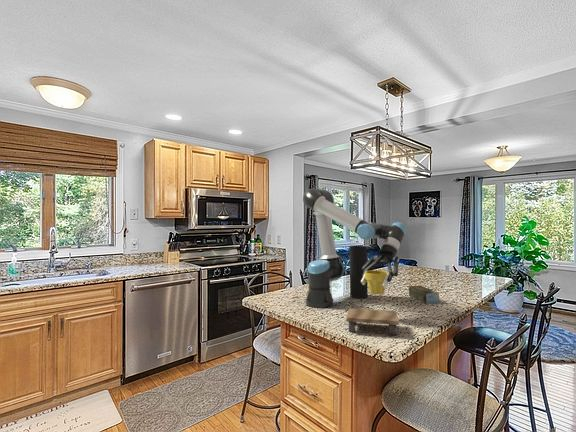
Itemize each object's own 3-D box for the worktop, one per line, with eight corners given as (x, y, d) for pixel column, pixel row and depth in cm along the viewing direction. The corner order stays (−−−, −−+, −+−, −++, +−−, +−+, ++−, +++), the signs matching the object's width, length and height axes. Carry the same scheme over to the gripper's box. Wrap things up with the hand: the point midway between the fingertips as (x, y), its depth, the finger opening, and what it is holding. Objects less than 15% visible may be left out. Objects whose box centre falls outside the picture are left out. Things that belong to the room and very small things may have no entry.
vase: (346, 297, 185) (346, 246, 185) (355, 293, 193) (354, 245, 193) (362, 299, 178) (361, 247, 179) (370, 296, 186) (369, 246, 187)
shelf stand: (346, 332, 125) (346, 317, 125) (349, 321, 139) (349, 308, 139) (399, 336, 120) (398, 321, 120) (396, 325, 133) (396, 311, 133)
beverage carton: (426, 304, 167) (425, 292, 167) (408, 296, 186) (407, 285, 186) (439, 303, 168) (439, 291, 168) (420, 295, 187) (420, 284, 187)
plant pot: (363, 294, 141) (363, 273, 142) (366, 289, 151) (366, 269, 151) (387, 296, 138) (387, 274, 138) (388, 291, 147) (388, 270, 148)
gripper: (414, 255, 147) (399, 294, 136) (372, 252, 164) (355, 286, 153) (409, 244, 143) (393, 283, 132) (366, 242, 160) (348, 276, 149)
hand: (372, 285), depth 142 cm, fingers closed on plant pot, 10 cm apart
